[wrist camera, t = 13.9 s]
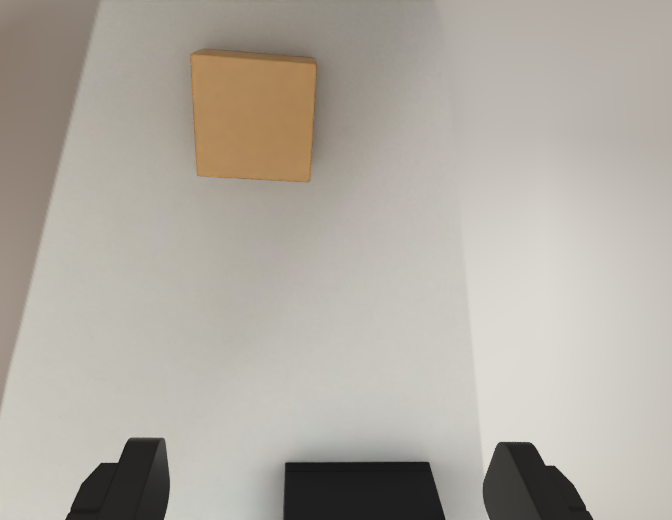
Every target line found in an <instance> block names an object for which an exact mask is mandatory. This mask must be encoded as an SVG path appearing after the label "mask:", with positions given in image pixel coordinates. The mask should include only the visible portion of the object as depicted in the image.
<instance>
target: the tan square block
mask: <svg viewBox="0 0 672 520" xmlns="http://www.w3.org/2000/svg"><path fill="white" fill-rule="evenodd" d="M190 61H191V79H192V96H193V114H194V131H195V148H196V166H197V175H198V176H206V177H224V178H242V179H260V180H278V181H296V182H310V176H311V159H312V141H313V124H314V107H315V89H316V72H317V65H316V62H315V59H314V58H310V57H298V56H285V55H273V54H261V53H249V52H237V51H225V50H212V49H202V50H199V51H197V52H194V53H192V54H191V55H190Z"/></svg>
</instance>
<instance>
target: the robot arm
mask: <svg viewBox="0 0 672 520" xmlns="http://www.w3.org/2000/svg"><path fill="white" fill-rule="evenodd" d="M169 491H170V477H169V469H168V460H167V451H166V443H165V439H164V438H129V439H128V441H127V443H126V445H125V447H124V449H123V452H122V454H121V457H120V459H119V462H118V463H101V464H100V465H99V466H98V467H97V468H96V469H95V470H94V471H93V472H92V473H91V474H90V476H89V477H88V478H87V479H86V480H85V481H84V482H83V483H82V484H81V487H80V489H79V491H78V493H77V495H76V498H75V500H74V502H73V504H72V506H71V511H70V513H68V515H67V517H66V519H65V520H164V517H165V513H166V509H167V505H168V499H169ZM483 498H484V504H485V508H486V511H487V513H488V516H489V519H490V520H593V518H592V516H591V515H590V513H589V511H586V506H585V504H584V502H583V501H582V499H581V498H580V495H579V494H578V492H577V490H576V488H575V487H574V485H573V484H572V483H571V482H570V481H569V480H568V479H567V478H566V477H565V476H564V475H563V474H562V473H561V472H560V471H559V470H558V469H557V468H556V467H555V466H545V464H544V462H543V460H542V458H541V456H540V454H539V453H538V451H537V449H536V448H535V446H534V445H533V444H532V443H530V442H500V443H498V444H497V446H496V448H495V451H494V454H493V457H492V460H491V462H490V465H489V468H488V471H487V473H486V476H485V479H484V483H483Z"/></svg>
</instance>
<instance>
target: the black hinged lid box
mask: <svg viewBox="0 0 672 520" xmlns="http://www.w3.org/2000/svg"><path fill="white" fill-rule="evenodd" d="M283 520H445V516H444V513H443V509H442V506H441V502H440V499H439V495H438V492H437V489H436V485H435V482H434V478H433V475H432V471H431V468H430V464H429V462H384V463H286V464H285V483H284V505H283Z"/></svg>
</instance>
